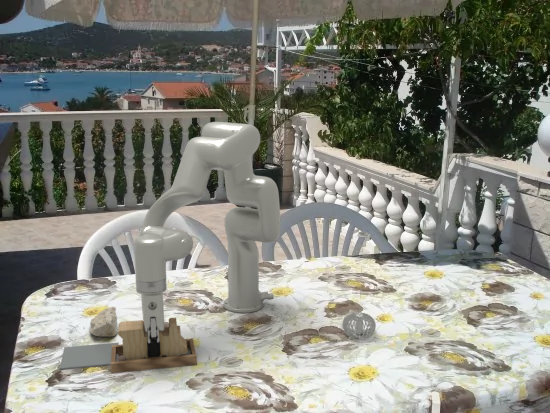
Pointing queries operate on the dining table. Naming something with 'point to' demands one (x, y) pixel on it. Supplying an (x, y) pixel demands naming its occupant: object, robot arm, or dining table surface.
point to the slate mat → (87, 356)
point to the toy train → (138, 339)
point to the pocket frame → (152, 360)
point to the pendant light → (359, 315)
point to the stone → (104, 323)
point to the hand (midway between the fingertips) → (153, 350)
